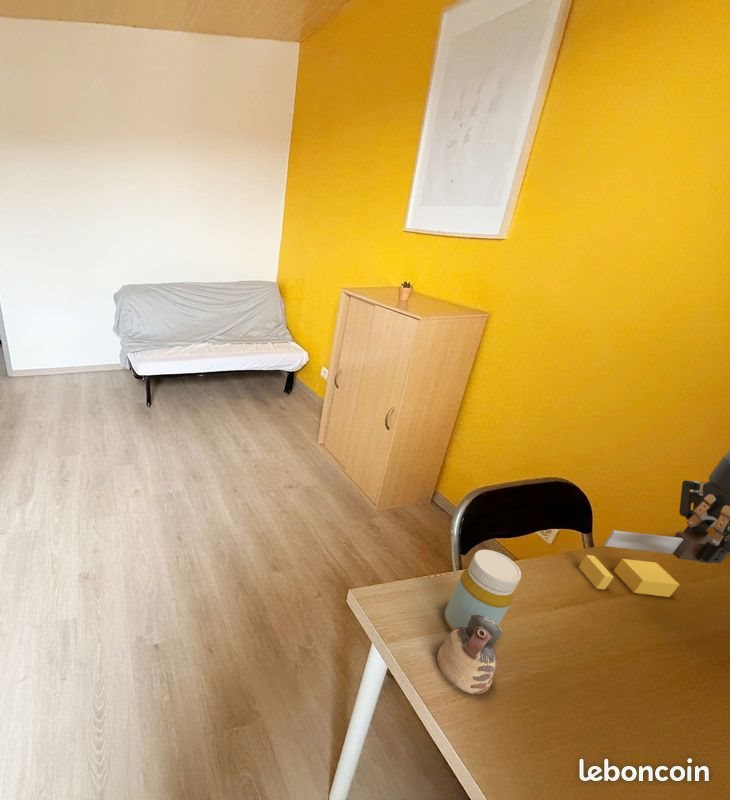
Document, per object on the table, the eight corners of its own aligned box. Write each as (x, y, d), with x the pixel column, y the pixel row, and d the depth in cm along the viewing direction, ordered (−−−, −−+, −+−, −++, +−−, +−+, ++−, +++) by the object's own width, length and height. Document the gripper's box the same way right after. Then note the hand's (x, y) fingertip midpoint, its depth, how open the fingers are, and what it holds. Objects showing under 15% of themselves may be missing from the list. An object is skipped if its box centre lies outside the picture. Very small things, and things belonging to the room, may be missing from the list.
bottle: (433, 616, 72) (461, 555, 65) (461, 602, 75) (490, 542, 68) (471, 653, 66) (505, 590, 59) (499, 637, 69) (535, 575, 62)
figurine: (497, 679, 63) (528, 629, 57) (473, 706, 59) (504, 656, 54) (450, 640, 68) (474, 591, 63) (426, 663, 65) (449, 614, 59)
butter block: (645, 576, 81) (656, 562, 79) (667, 599, 76) (679, 584, 74) (611, 573, 81) (621, 558, 79) (632, 594, 77) (643, 580, 75)
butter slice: (585, 570, 82) (594, 555, 80) (603, 591, 77) (614, 577, 76) (576, 569, 82) (586, 554, 80) (595, 590, 78) (605, 576, 76)
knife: (706, 552, 68) (719, 536, 66) (720, 563, 65) (734, 547, 64) (598, 539, 69) (609, 523, 68) (609, 550, 67) (620, 534, 66)
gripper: (858, 501, 52) (767, 593, 60) (744, 442, 64) (682, 525, 72) (789, 495, 53) (709, 586, 61) (690, 437, 65) (634, 520, 73)
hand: (695, 552), depth 67 cm, fingers closed on knife, 2 cm apart
